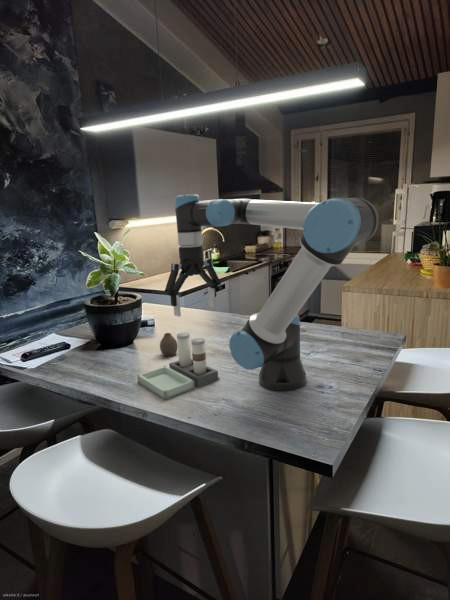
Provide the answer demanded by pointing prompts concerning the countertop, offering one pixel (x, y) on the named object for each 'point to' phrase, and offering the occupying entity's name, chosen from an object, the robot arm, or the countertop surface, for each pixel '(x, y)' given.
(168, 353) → the vase
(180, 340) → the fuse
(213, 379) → the fuse block
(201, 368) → the cylinder
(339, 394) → the countertop surface
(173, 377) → the tray
